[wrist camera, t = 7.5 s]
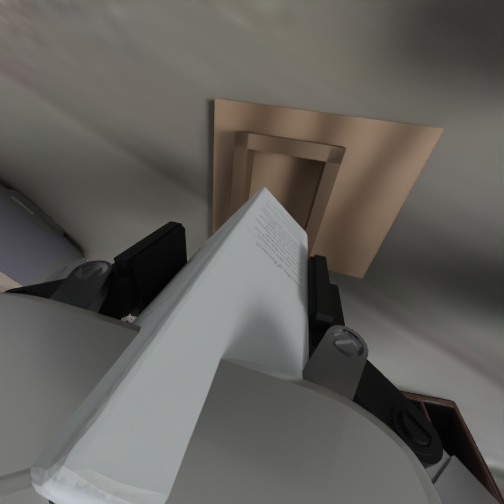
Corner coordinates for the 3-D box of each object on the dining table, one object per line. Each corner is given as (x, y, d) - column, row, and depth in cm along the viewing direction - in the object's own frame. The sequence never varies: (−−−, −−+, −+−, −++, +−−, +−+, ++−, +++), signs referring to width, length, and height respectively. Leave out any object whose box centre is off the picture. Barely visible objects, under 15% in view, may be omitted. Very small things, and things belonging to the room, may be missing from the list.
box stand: (436, 128, 17) (468, 128, 14) (360, 273, 26) (367, 295, 22) (219, 100, 20) (200, 93, 17) (215, 238, 29) (202, 252, 25)
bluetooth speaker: (-23, 183, 36) (-124, 198, 28) (-24, 142, 31) (-145, 146, 23) (85, 270, 41) (27, 305, 33) (99, 246, 36) (36, 280, 28)
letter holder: (454, 399, 33) (532, 545, 22) (419, 447, 43) (459, 565, 31) (386, 386, 36) (421, 510, 24) (366, 434, 46) (385, 538, 34)
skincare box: (247, 278, 16) (138, 537, 6) (206, 240, 15) (-10, 469, 5) (312, 233, 13) (324, 632, 3) (266, 181, 12) (3, 489, 2)
